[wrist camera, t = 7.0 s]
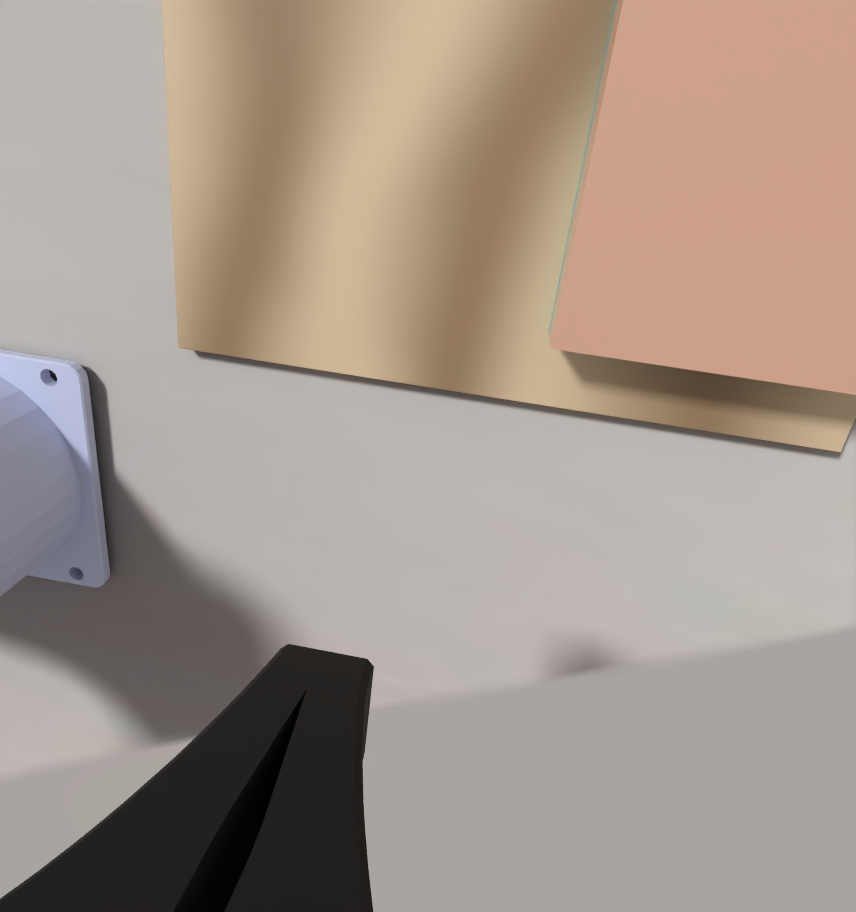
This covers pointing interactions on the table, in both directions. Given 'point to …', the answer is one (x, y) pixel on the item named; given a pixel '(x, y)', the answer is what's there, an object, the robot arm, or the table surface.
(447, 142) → the cork mat
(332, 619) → the table surface
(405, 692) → the table surface
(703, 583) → the table surface
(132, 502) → the table surface
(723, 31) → the tile
